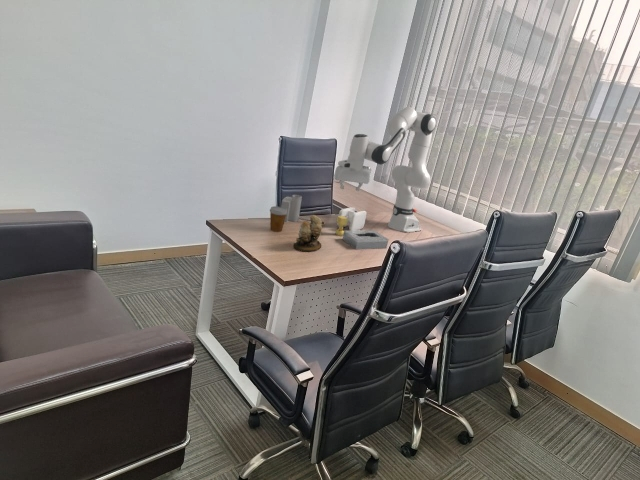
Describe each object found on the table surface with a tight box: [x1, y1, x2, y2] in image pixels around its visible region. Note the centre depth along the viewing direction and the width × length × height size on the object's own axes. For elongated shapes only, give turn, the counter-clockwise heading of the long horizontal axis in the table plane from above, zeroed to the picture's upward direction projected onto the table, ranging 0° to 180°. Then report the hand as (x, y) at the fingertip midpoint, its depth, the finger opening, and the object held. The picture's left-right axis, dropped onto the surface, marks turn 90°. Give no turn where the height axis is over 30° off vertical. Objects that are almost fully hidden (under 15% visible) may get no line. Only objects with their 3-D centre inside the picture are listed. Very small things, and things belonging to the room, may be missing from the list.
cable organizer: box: [336, 206, 367, 231], centre depth 241 cm, size 15×11×12 cm
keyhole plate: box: [342, 229, 389, 250], centre depth 221 cm, size 20×14×5 cm
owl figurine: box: [293, 214, 323, 253], centre depth 201 cm, size 18×12×17 cm, turn 148°
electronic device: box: [280, 194, 325, 225], centre depth 237 cm, size 12×26×15 cm, turn 81°
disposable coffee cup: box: [269, 206, 287, 233], centre depth 218 cm, size 10×10×12 cm
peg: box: [335, 215, 347, 237], centre depth 227 cm, size 4×4×10 cm
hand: (349, 189), depth 222 cm, fingers open, 8 cm apart
